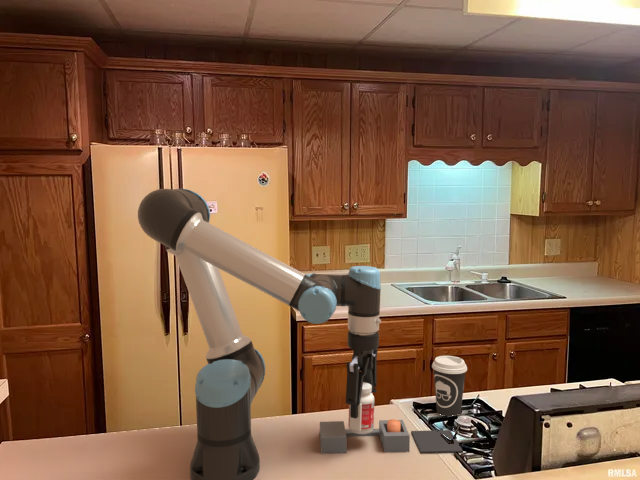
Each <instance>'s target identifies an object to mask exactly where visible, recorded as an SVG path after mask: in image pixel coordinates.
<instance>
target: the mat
mask: <svg viewBox="0 0 640 480" xmlns="http://www.w3.org/2000/svg"><path fill="white" fill-rule="evenodd" d="M438 430H439V429H437V430H435V429H433V430H410V431H411V435H412V437H413V439H414V441H415V443H416V446H417V448H418V450H419V453H420V454H423V455H424V454H428V455H429V454H456V453H455V452H458V453H457V454H461V453H462V454H463V453H464V451H463V450H464V449H463V448H462V446H461V445H460V444H459V442H458V440H457V439H456V438H455V439H453V436H454V434H453V432H452V431H451V430H450V429H440V430H439V431H438ZM437 431H438V432H437ZM440 433H441V434H444V435H445V436H446V437H448V438H449V439H453V440H454V444H448V443H447V442H445V441H444V440H443V438H442V437H441V436H440V435H441V434H440ZM459 445H460V446H459Z"/></svg>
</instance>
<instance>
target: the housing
mask: <svg viewBox="0 0 640 480" xmlns="http://www.w3.org/2000/svg"><path fill="white" fill-rule="evenodd" d="M388 420H389V419H388ZM388 420H387V419H383V420H382V419H380V420H378V428H373V431H372V432H370V433H368V434H356V433H353V432H352V431H351V430H350V429H349V428H348V429H346V428H345V422H344V420H343V421H342V420H340V421H337V420H335V421H334V420H333V421H331V420H330V421H319V439H320V440H319V442H320V443H319V444H320V453H321V454H322V455H326V454H327V455H328V454H329V455H333V454H334V455H335V454H347V451H348V449H347V447H348V446H347V445H348V444H347V439H348V437H369V436H379V440H380V442H381V445H382V450H383V452H384V453H405V452H407V453H409V452H410V446H411V445H410V442H411V441H410V439H411V436H410V434H409V431H408V430H407V426H406V424H405V422H404V420H403V419H398V420H399V421H400V422H401V429H400V432H387V421H388Z"/></svg>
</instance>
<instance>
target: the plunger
mask: <svg viewBox="0 0 640 480" xmlns="http://www.w3.org/2000/svg"><path fill="white" fill-rule="evenodd" d="M399 420H400V419H394V418H392V419H388V421H387V432H400V429H401V422H400V421H399Z"/></svg>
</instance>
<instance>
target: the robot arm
mask: <svg viewBox="0 0 640 480" xmlns="http://www.w3.org/2000/svg"><path fill="white" fill-rule="evenodd" d="M138 206H139V207H138V209H137V219H138V223H139V226H140V228H141V229H142V231H143V232H144V234H146V235H147V236H148V237H150V238H151V240H152V239H153V240H154V241H156V242H158V243H159V244H162V245H164V248H165V250H166V252H168V253H170V254H172V255H174V256H175V258H176V261H177V264H178V266H179V269H180V272H181V275H182V277H183V281H184V283H185V285H186V287H187V291H188V294H189V297H190V299H191V302H192V305H193V307H194V311H195V313H196V315H197V319H198V321H199V323H200V326H201V328H202V331H203V335H204V337H205V340H206V343H207V346H208V350H207V353H206V354H205V358H206V361H207V364H205V365H204V366H203V367H201V369H199V370H198V372H197V374H196V379H195V385H194V386H195V387H194V393H195V407H196V408H195V409H196V410H195V411H196V431H197V434H196V435H197V437H196V438H197V440H196V443H195V446H194V447H195V448H194V450H193V454H192V458H191V460H190V465H189V473H190V474H189V477H190V480H254V479H255V478H256V477H257V476H258V474H259V472H260V468H261V467H260V466H261V465H260V459H261V458H260V454H259V452H258V449H257V446H256V444H255V441H254V439H253V436H252V428H251V427H252V414H251V413H252V409H251V408H252V407H251V406H252V402H253V401H254V399H255V397H256V395H257V393H258V391H259V390H260V388H261V386H262V384H263V382H264V380H265V375H266V362H265V359H264V357H263V355H262V354H261V353H260V351H259V350H258V349H256V348H255V346H254V344H253V341H252V339H251V338H250V337H249V336H247V335H244V334H243V333H242V329H241V326H240V323H239V322H238V318H237V315H236V313H235V310H234V306H233V304H232V302H231V299H230V296H229V294H228V293H229V292H228V291H227V287H226V286H225V282H224V279H223V277H222V275H221V272H220V270H221V271H223V272H225V273H226V274H229V275H230V276H232V277H235V278H236V279H238V280H240V281H242V282H244V283H245V284H247V285H249V286H251V287H253V288H255V289H257V290H258V291H260V292H263V293H264V294H267V295H268V296H270V297H272V298H274V299H276V300H277V301H280V302H282V303H283V304H285V305H287V306H289V307H291V308H293V309H294V310H295V311H296V310H297V311H298V312H299V313H300V315H301V318H303V319H304V320H305V321H306V322H308V323H310V324H312V325H313V324H314V325H315V324H316V325H317V324H323V323H326V322H327V321H329V320H330V318H331V317H332V316H333V315H334V313H335V312H336V309H337V307H348V309H347V329H348V331H347V347H349V348H350V349H351V350H352V351H353V353H352V357H351V362H349V361H348V362H346V388H345V390H346V391H345V404H346V405H349V404H350V428H349V427H348V429H353V430H356V431H361V418H362V404H361V403H360V400H361V393H362V386H363V382H366V383H369V384H371V386H372V391H371V393H372V394H373V393H375V394H376V393H377V392H378V391H377V390H378V389H377V388H376V387H377V381H378V380H377V377H378V376H377V372H378V371H377V367H378V366H377V363H378V362H377V361H378V360H377V357H378V348H379V346H380V333H379V332H378V331H380V324H382V319H380V310H381V307H380V306H381V289H382V288H381V287H382V286H381V271H380V270H379V268H377V267H374V266H370V265H354V266H351V267H350V268H349V269H348V270H349V271H348V274H324V273H323V274H322V273H315V272H313V273H303V272H302V271H300V270H298V269H296V268H294V267H292V266H290V265H289V264H286V263H285V262H282V261H281V260H279V259H277V258H276V257H274V256H271V255H270V254H268V253H266V252H265V251H262V250H261V249H258V248H256V247H254V246H252V244H249V243H247V242H245V241H243V240H241V239H240V238H238V237H236V236H234V235H232V234H230V233H228V232H227V231H224V230H223V229H221V228H219V227H217V226H215V225H213V224H211V223H210V220H211V219H210V218H211V210H210V206H209V204H208V203H207V201H206V199H205V198H204V197H203V196H202V195H200V194H199V193H198V192H195V191H194V190H193V191H192V190H190V189H187V188H175V189H174V188H158V189H156V190H153V191H150V192H149V193H148V194H147V195H145V196H144V197H143V198H142V200H141V202H140V203H139V205H138Z"/></svg>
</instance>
